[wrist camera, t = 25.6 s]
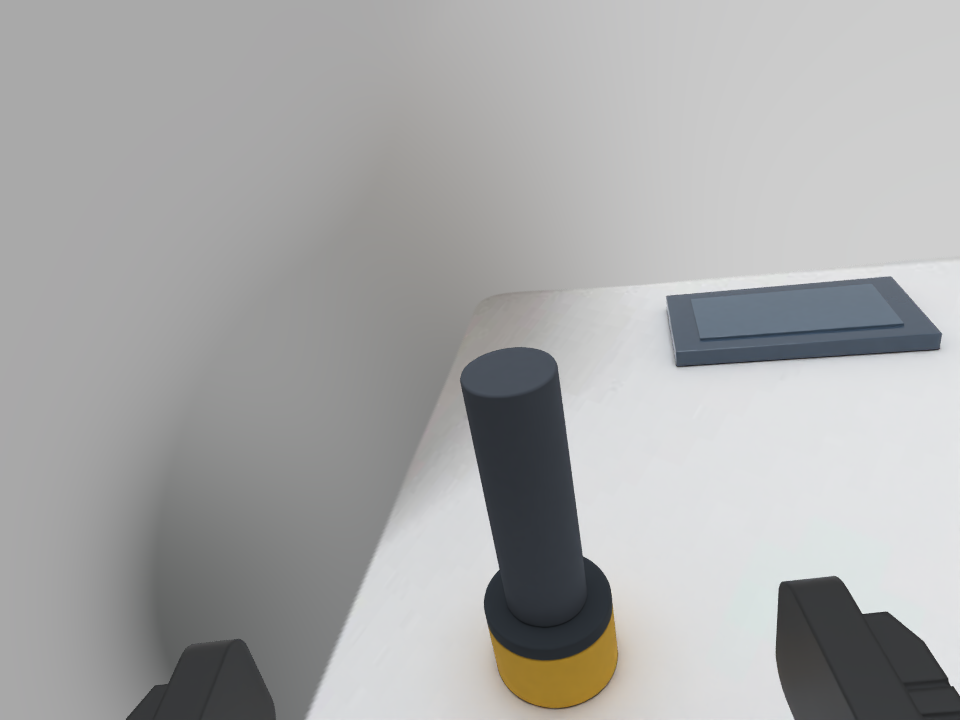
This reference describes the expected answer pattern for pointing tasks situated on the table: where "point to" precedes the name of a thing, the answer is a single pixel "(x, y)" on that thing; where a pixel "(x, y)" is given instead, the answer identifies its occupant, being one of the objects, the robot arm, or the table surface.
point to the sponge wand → (536, 535)
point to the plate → (798, 322)
